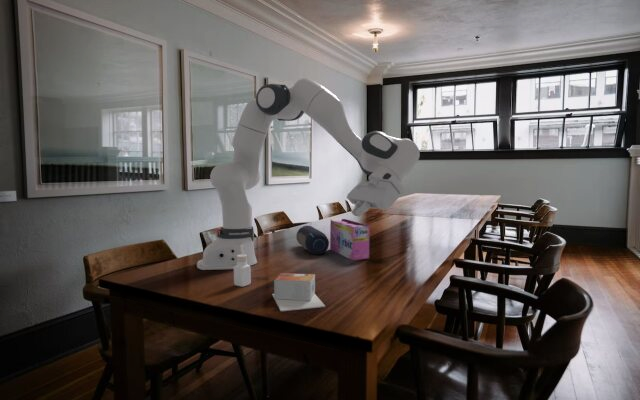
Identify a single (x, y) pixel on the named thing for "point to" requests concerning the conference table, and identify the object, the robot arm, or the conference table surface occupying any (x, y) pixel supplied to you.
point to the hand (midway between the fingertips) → (355, 214)
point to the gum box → (350, 239)
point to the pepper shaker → (242, 271)
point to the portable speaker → (312, 240)
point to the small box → (294, 286)
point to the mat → (298, 304)
